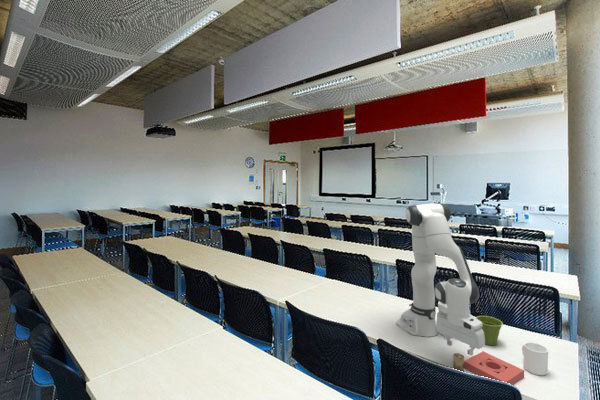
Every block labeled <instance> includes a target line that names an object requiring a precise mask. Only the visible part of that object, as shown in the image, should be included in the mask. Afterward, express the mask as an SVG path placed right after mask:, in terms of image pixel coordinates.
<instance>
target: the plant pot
mask: <svg viewBox="0 0 600 400" xmlns="http://www.w3.org/2000/svg"><path fill="white" fill-rule="evenodd" d="M475 318H476V319H478V320H479V321H481V322H482V324H483V326H482V327H481V328H482V330H483V332H484V336H485V345H487V346H496V345H497V344H498V340H499V335H500V331H501V329H502V327H503V325H504V323H503V321H501V320H500V319H498V318H496V317H493V316H489V315H478V316H476V317H475Z"/></svg>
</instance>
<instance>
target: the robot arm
mask: <svg viewBox="0 0 600 400" xmlns="http://www.w3.org/2000/svg"><path fill="white" fill-rule="evenodd" d="M451 216H452V212H451V208H450V207H449V205H448V204H446V203H441V202H439V203H435V202H434V203H433V202H432V203H431V202H430V203H422V204H413V205H412V204H411V205H409V206H407V208H406V210H405V218H406V219H405V220H406V221H407V223H408V224H409V225H411V226H412V227H411V243H412V244H411V245H412V252H413V256H414V266H412V269H411V272H410V277H411V283H412V284H411V285H412V292H413V293H412V300H413V301H412V303H409V304H408V307H410V309H407V310H405V311H403V312H402V313H401V315H400V318H399V319H398V320H396V322H395V325H397V326H399V327H400V328H401V329H403V330H404V331H406V332H407V333H409V334H410V335H412V336H420V337H427V338H429V337H434V336H437V335H438V333H440V334H441V333H442V334H444V336H443V337H444V339H445V341H446V345H447V346H449V347H451V346H452V345H453V340H451V339H454V340H456V341H459V342H461V343H464V344H466V345H469V348H468V349H467V353H466V354H467V355H468V356H474V350H476V349H477V350H480V349H482V348H483V347H485V346H486V344H485V336H484V332H483V330H482V328H481V327H482V326H483V324H482V322H481V321H479V320H478V319H476V317H475V316H473V315H472V314H471V311H470V308H469V307H470V304H471V305H472V304H475V302H477V301H478V299H479V298H480V290H479V287H478V285H477V283H476V282H475V279H474V277H473V275H472V272H471V269H470V267H469V264H468V261H467V259H466V256H465V253H464V252H463V250H462V247H461V246H460V245H457V244H456V243H455V241H454V239H453V236H452V232H451V229H450V225H449V221H450V220H451ZM436 255H438V256H442V257H445V258H448V259H450V260H452V262H453V263H454V265H455V267H456V270H457V272H458V276H459V278H458V277H457V278H455V277H454V278H453V277H452V278H450V279H449V278H448V280H447V281H439V282H437V283H436V284H435V282H434V280H435V275H436V273H437V260H436V259H437V258H436ZM436 300H437V301H438V302H439V301H440V302H441V303H443V304H446V305H447V313H443V312H439V311H438V312H437V313H436V311H437V310H436V309H437V308H436V303H435V302H436ZM442 334H441V335H442ZM449 337H452V338H449Z"/></svg>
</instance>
